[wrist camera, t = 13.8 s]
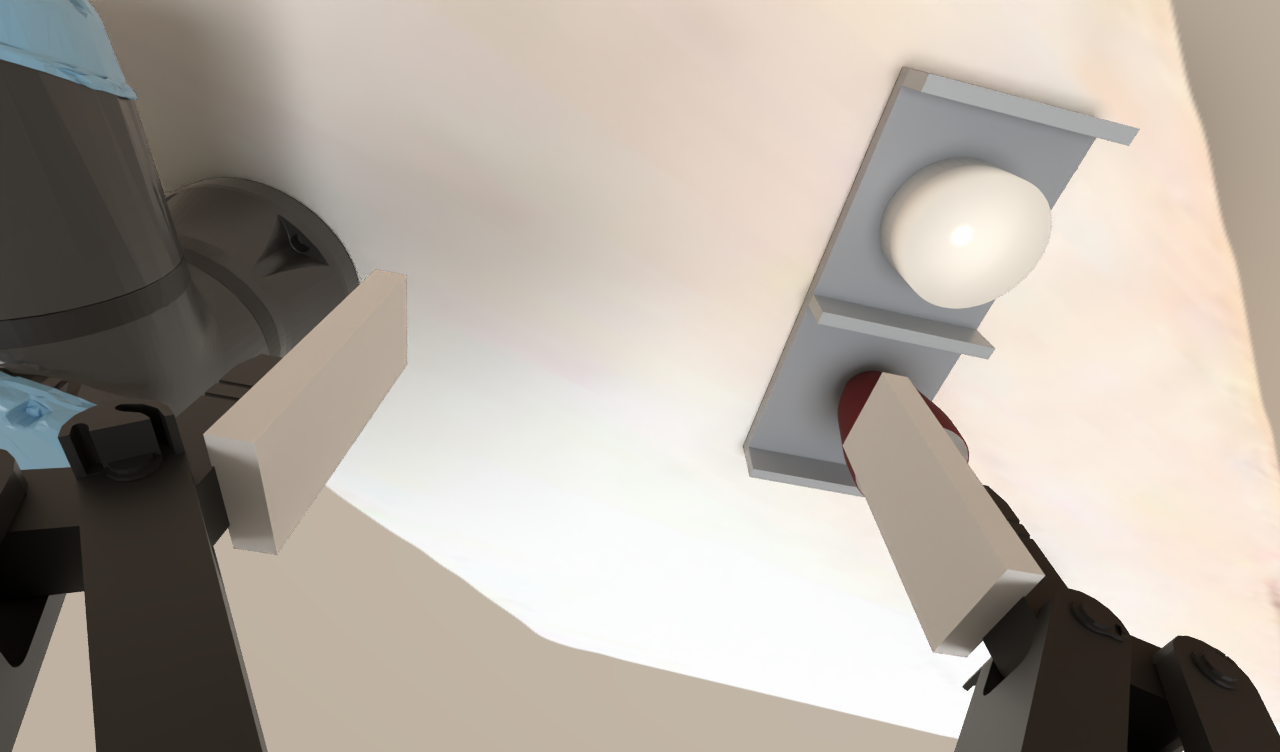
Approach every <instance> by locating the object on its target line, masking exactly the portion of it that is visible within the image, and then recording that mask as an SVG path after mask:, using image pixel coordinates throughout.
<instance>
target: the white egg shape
mask: <svg viewBox="0 0 1280 752" xmlns="http://www.w3.org/2000/svg"><path fill="white" fill-rule="evenodd" d="M1051 227H1052V216H1051V210H1050V207H1049V204H1048V201H1047V200H1046V198H1045V196H1044V195H1043V193H1042V192H1041V191H1040V190H1039V189H1038V188H1037V187H1036V186H1034V185H1033V184H1032V183H1030V182H1028V181H1026V180H1024V179H1022V178H1020V177H1018V176H1015V175H1013V174H1011V173H1009V172H1007V171H1005V170H1003V169H1000V168H998V167H996V166H994V165H992V164H990V163H987V162H985V161H983V160H980V159H976V158H971V157H955V158H949V159H945V160H941V161H938V162H935V163H933V164H931V165H929V166H927V167H925V168H923V169H921V170H920V171H918V172H917V173H915V174H914V175H913V176H911V177H910V178H909V179H908V180H907V181H906V182H905V183H904V184H903V185H902V186H901V187H900V188H899V189H898V190H897V191H896V193H895V194H894V196H893V197H892V198H891V200H890V202H889V204H888V205H887V207H886V209H885V212H884V215H883V217H882V221H881V226H880V244H881V248H882V251H883V254H884V256H885V258H886V260H887V261H888V262H889V264H890V265H891V266H892V267H893V268H894V269H895V270H896V271H897V273H898V274H899V275H900V276H901V277H902V278H903V279H904V280H905V281H906V282H907V283H908V284H909V286H910V287H911V288H912V289H913V290H914V291H915V292H916V293H917V294H918V295H919V296H920V297H921V298H923V299H924V300H926V301H927V302H929V303H931V304H933V305H936V306H940V307H944V308H954V309H960V308H969V307H974V306H978V305H982V304H985V303H987V302H990V301H992V300H995V299H996V298H998V297H1000V296H1002V295H1004V294H1005V293H1007V292H1009V291H1010V290H1012V289H1013V288H1014V287H1015V286H1017V285H1018V284H1019V283H1020V282H1021V281H1022V280H1024V279H1025V278H1026V277H1027V276H1028V274H1029V273H1030V272H1031V271H1032V270H1033V269H1034V267H1035V266H1036V265H1037V263H1038V262H1039V260H1040V259H1041V257H1042V255H1043V253H1044V251H1045V249H1046V247H1047V244H1048V241H1049V238H1050V234H1051Z"/></svg>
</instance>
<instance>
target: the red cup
mask: <svg viewBox="0 0 1280 752" xmlns="http://www.w3.org/2000/svg"><path fill="white" fill-rule="evenodd" d="M881 374H882V372H879V371H865V372H862V373H859V374H857V375H855V376H854V377H853V378H851V379H850V380H849V381H848V383H847V384H846V386H845V388H844V390H843V392H842V395H841V398H840V401H839V404H838V412H837V415H838V423H839V430H840V436H841V442H842V448H843V444H844V442H845V440H846V438H847V436H848V435H849V433H850V431H851V429H852V427H853V425H854V424H855V422H856V420H857V418H858V416H859V415H860V413H861V411H862V409H863V407H864V405H865V404H866V402H867V400H868V398H869V396H870V394H871V393H872V391H873V389H874V387H875V385H876V383H877V382H878V380H879V378H880V376H881ZM916 390H917V389H916ZM917 391H918V393H919V394H920V395H921V397H922V398H923V400H924V401H925V403H926V404H927V406H928V407H929V408H930V410H931V411H932V413H933V414H934V416H935V417H936V418H937V420H938V421H939V423H940V424H941V426H942V427H943V429H944V430H945V431H946V433H947V434H948V436H949V437H950V439H951V440H952V442H953V443H954V444H955V446H956V447H957V449H958V450H959V452H960V453H961V455H962V456H963V457H964V459H965V460H966V462H967V463H968V461H969V451H968V447H967V444H966V442H965V440H964V439H963V437H962V436H961V434H960V433H959V431H958V430H957V428H956V427H955V426H954V424H953V423H952V421H951V420H950V419H949V418H948V417H947V415H946V414H945V413H944V412H943V411H942V410H941V409H940V408H938V407H937V406H936V405H935V404H934V403H933V402H931V401H930V400H929V399H928V398H927V397H926V396H924V395H923V394H922V393H921V392H920V391H919V390H917ZM843 454H844V458H845V461H846V464H847V467H848V469H849V472H850V474H851V476H852V478H853V480H854V482H855V484H856V487H857V488H858V490H859V491H860V492H861V494H862V495H863V496H864V493H863V491H862V489H861V487H860V484H859V482H858V480H857V477H856V475H855V473H854V471H853V468H852V466H851V464H850V461H849V459H848V457H847V454H846V452H845V450H844V448H843Z"/></svg>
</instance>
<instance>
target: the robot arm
mask: <svg viewBox="0 0 1280 752" xmlns="http://www.w3.org/2000/svg"><path fill="white" fill-rule="evenodd" d="M134 100H138V99H137V95H136V93H135V91H134V89H133V88H131V87H130V86H129V85H127V82H126V80H125V78H124V75H123V73H122V70H121V68H120V65H119V63H118V60H117V58H116V55H115V53H114V50H113V47H112V45H111V42H110V40H109V37H108V35H107V32H106V29H105V27H104V24H103V22H102V20H101V18H100V16H99V14H98V13H97V11H96V10H95V8H94V7H93V6H92V5H91V3H90V2H89V1H88V0H0V752H12V749H13V746H14V743H15V740H16V737H17V734H18V731H19V729H20V726H21V723H22V720H23V717H24V714H25V711H26V708H27V705H28V703H29V700H30V697H31V694H32V691H33V688H34V685H35V682H36V680H37V677H38V673H39V671H40V668H41V665H42V662H43V659H44V656H45V654H46V651H47V648H48V645H49V642H50V639H51V636H52V633H53V630H54V628H55V625H56V622H57V619H58V616H59V613H60V610H61V607H62V604H63V602H64V598H65V595H66V593H72V592H81V591H84V592H85V606H86V619H87V632H88V646H89V659H90V673H91V686H92V699H93V713H94V726H95V740H96V752H268V751H267V748H266V744H265V740H264V736H263V732H262V729H261V725H260V721H259V718H258V714H257V710H256V706H255V702H254V698H253V694H252V691H251V687H250V683H249V679H248V676H247V671H246V668H245V664H244V660H243V656H242V653H241V649H240V645H239V641H238V637H237V634H236V630H235V626H234V622H233V618H232V614H231V611H230V607H229V603H228V599H227V595H226V592H225V588H224V584H223V580H222V577H221V573H220V569H219V565H218V561H217V558H216V554H215V550H214V547H213V546H214V544H215V543H216V542H217V540H218V539H219V538H220V537H221V535H222V534H223V533H224V532H225V531H226V529H227V528H228V529H229V533H230V537H231V540H232V544H233V548H234V549H241V550H248V551H254V552H262V553H269V554H275V555H277V554H278V553H279V552H280V550H281V549H282V547H283V546H284V544H285V543H286V541H287V540H288V539H289V537H290V536H291V534H292V533H293V531H294V530H295V528H296V527H297V525H298V524H299V522H300V521H301V519H302V518H303V516H304V515H305V513H306V512H307V511H308V509H309V508H310V506H311V505H312V503H313V502H314V500H315V499H316V497H317V496H318V494H319V493H320V491H321V490H322V488H323V487H324V486H325V484H326V483H327V481H328V480H329V478H330V477H331V475H332V474H333V472H334V471H335V470H336V468H337V467H338V465H339V464H340V462H341V461H342V459H343V458H344V456H345V455H346V453H347V452H348V450H349V449H350V447H351V446H352V445H353V443H354V442H355V440H356V439H357V437H358V436H359V434H360V433H361V431H362V430H363V428H364V427H365V425H366V424H367V423H368V421H369V420H370V418H371V417H372V415H373V414H374V412H375V411H376V409H377V408H378V406H379V405H380V403H381V402H382V401H383V399H384V398H385V396H386V395H387V393H388V392H389V390H390V389H391V387H392V386H393V384H394V383H395V381H396V380H397V378H398V377H399V376H400V374H401V373H402V371H403V370H404V368H405V367H406V365H407V276H406V275H402V274H397V273H392V272H387V271H382V270H377V269H376V270H375V271H373V272H372V273H371V274H370V275H369V276H368V277H367V278H366V279H365V280H364V281H363V282H362V283H361V284H360V285H359V284H358V279H357V275H356V272H355V269H354V267H353V264H352V262H351V260H350V258H349V256H348V254H347V252H346V251H345V249H344V247H343V246H342V244H341V243H340V241H339V240H338V239H337V237H336V236H335V235H334V233H333V232H332V231H331V230H330V229H329V228H328V227H327V226H326V225H325V223H324V222H323V221H321V220H320V219H319V218H318V217H317V216H316V215H315V214H314V213H313V212H311V211H310V210H309V209H308V208H306V207H305V206H304V205H302V204H301V203H299V202H298V201H296V200H295V199H293V198H291V197H289V196H288V195H286V194H284V193H282V192H280V191H278V190H276V189H273V188H271V187H269V186H266V185H263V184H260V183H257V182H253V181H249V180H244V179H237V178H212V179H206V180H202V181H199V182H196V183H193V184H191V185H188V186H185V187H183V188H180V189H178V190H176V191H173V192H171V193H170V194H168V195H166V196H165V195H164V192H163V189H162V186H161V183H160V180H159V177H158V174H157V170H156V167H155V164H154V161H153V158H152V155H151V152H150V149H149V146H148V142H147V139H146V136H145V133H144V130H143V127H142V124H141V121H140V118H139V114H138V111H137V108H136V105H135V102H134ZM843 448H844V450H845V452H846V454H847V457H848V459H849V461H850V464H851V466H852V468H853V471H854V473H855V475H856V477H857V480H858V482H859V484H860V487H861V489H862V491H863V493H864V496H865V498H866V500H867V503H868V505H869V507H870V509H871V512H872V514H873V516H874V519H875V521H876V523H877V525H878V528H879V530H880V532H881V535H882V537H883V539H884V542H885V544H886V546H887V548H888V551H889V553H890V555H891V558H892V560H893V562H894V564H895V567H896V569H897V571H898V574H899V576H900V578H901V580H902V583H903V585H904V587H905V590H906V592H907V594H908V596H909V599H910V601H911V603H912V606H913V608H914V610H915V613H916V615H917V617H918V619H919V622H920V624H921V626H922V629H923V631H924V633H925V635H926V638H927V640H928V642H929V645H930V647H931V649H932V651H933V652H934V653H940V654H947V655H954V656H960V657H967V656H968V655H969V654H970V653H971V652H972V651H973V650H974V649H975V648H976V647H977V646H978V645H979V644H980V643H981V642H982V641H984V643H985V645H986V647H987V649H988V651H989V653H990V655H991V658H990V659H989V660H988V661H987V662H986V663H985V664H984V665H983V666H982V667H981V668H980V669H979V670H978V671H977V672H976V673H975V674H974V675H973V676H972V677H971V678H970V679H969V680H968V681H967V682H966V683H965V684H964V685H963V688H964V689H966V690H967V691H968V690H969V689H970V688H971V687H972V686H974V685H976V687H975V690H974V693H973V696H972V699H971V702H970V705H969V708H968V711H967V714H966V718H965V721H964V724H963V727H962V730H961V733H960V736H959V739H958V742H957V745H956V748H955V751H954V752H1182V751H1184V752H1280V735H1279V733H1278V731H1277V729H1276V727H1275V725H1274V723H1273V721H1272V719H1271V717H1270V715H1269V713H1268V711H1267V709H1266V707H1265V705H1264V703H1263V701H1262V699H1261V697H1260V695H1259V693H1258V691H1257V689H1256V688H1255V686H1254V685H1253V683H1252V682H1251V680H1250V679H1249V677H1248V676H1247V675H1246V674H1245V673H1244V672H1243V671H1242V670H1241V669H1240V668H1239V667H1238V666H1237V664H1236V663H1235V662H1234V661H1233V660H1231V659H1230V658H1229V657H1228V656H1227V657H1226V656H1225V654H1224V653H1222V652H1221V651H1219V650H1218V649H1216V648H1213V647H1212V646H1210V645H1208V644H1206V643H1205V642H1203V641H1201V640H1198V639H1195V638H1192V637H1190V636H1177V637H1176V638H1174V639H1173V640H1172V641H1170V642H1169V643H1168V644H1167V645H1165V646H1164V647H1163V648H1160V647H1157V646H1155V645H1153V644H1150V643H1148V642H1145V641H1143V640H1141V639H1138V638H1136V637H1133V636H1131V635H1129V632H1128V631H1127V629H1126V628H1125V626H1124V625H1123V623H1122V622H1121V621H1120V620H1119V619H1118V618H1117V617H1116V616H1115V615H1114V614H1113V613H1112V612H1111V611H1110V610H1109V609H1108V608H1107V607H1106V606H1104V605H1103V604H1101V603H1100V602H1099V601H1097V600H1096V599H1094V598H1092V597H1090V596H1088V595H1086V594H1084V593H1082V592H1080V591H1076V590H1073V589H1069V588H1067V586H1066V585H1065V583H1064V582H1063V581H1062V579H1061V578H1060V576H1059V575H1058V574H1057V572H1056V571H1055V569H1054V568H1053V567H1052V565H1051V564H1050V562H1049V561H1048V560H1047V558H1046V557H1045V555H1044V554H1043V553H1042V551H1041V550H1040V548H1039V547H1038V546H1037V544H1036V543H1035V541H1034V540H1033V539H1030V535H1029V533H1028V532H1027V530H1026V529H1025V528H1024V526H1023V525H1022V524H1019V522H1020V521H1019V519H1018V518H1017V516H1016V515H1015V514H1014V512H1013V511H1012V509H1011V508H1010V507H1009V505H1008V504H1007V503H1006V502H1005V501H1004V500H1003V499H1002V498H1001V497H1000V496H999V495H997V494H996V493H995V492H994V491H993V490H992V489H991V488H990V487H989V486H985V485H982V483H981V482H980V481H979V479H978V478H977V476H976V475H975V473H974V472H973V470H972V469H971V468H970V466H969V465H968V463H967V462H966V460H965V459H964V457H963V456H962V455H961V453H960V452H959V450H958V449H957V447H956V446H955V444H954V443H953V442H952V440H951V439H950V437H949V436H948V434H947V433H946V431H945V430H944V429H943V427H942V426H941V424H940V423H939V421H938V420H937V418H936V417H935V416H934V414H933V413H932V411H931V410H930V408H929V407H928V406H927V404H926V403H925V401H924V400H923V398H922V397H921V395H920V394H919V393H918V391H917V390H916V388H915V387H914V385H913V384H912V382H911V381H910V380H909V378H908V377H904V376H899V375H894V374H890V373H885V372H882V374H881V376H880V378H879V380H878V382H877V383H876V385H875V387H874V389H873V391H872V393H871V394H870V396H869V398H868V400H867V402H866V404H865V405H864V407H863V409H862V411H861V413H860V415H859V416H858V418H857V420H856V422H855V424H854V425H853V427H852V429H851V431H850V433H849V435H848V436H847V438H846V440H845V442H844V444H843Z"/></svg>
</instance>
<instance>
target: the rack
mask: <svg viewBox="0 0 1280 752" xmlns="http://www.w3.org/2000/svg"><path fill="white" fill-rule="evenodd" d="M1139 130H1140V129H1138V128H1134V127H1130V126H1127V125H1123V124H1119V123H1115V122H1111V121H1108V120H1104V119H1100V118H1096V117H1093V116H1089V115H1085V114H1081V113H1078V112H1074V111H1070V110H1066V109H1062V108H1059V107H1055V106H1051V105H1047V104H1044V103H1040V102H1036V101H1032V100H1028V99H1025V98H1021V97H1017V96H1013V95H1010V94H1006V93H1002V92H998V91H995V90H991V89H987V88H983V87H979V86H976V85H972V84H968V83H964V82H961V81H957V80H953V79H949V78H946V77H942V76H938V75H934V74H930V73H926V72H922V71H918V70H914V69H910V68H906V67H902V69H901V72H900V74H899V76H898V79H897V81H896V84H895V86H894V88H893V91H892V93H891V96H890V98H889V100H888V103H887V105H886V107H885V110H884V112H883V115H882V117H881V119H880V122H879V124H878V126H877V129H876V131H875V134H874V136H873V138H872V141H871V143H870V146H869V148H868V150H867V153H866V155H865V157H864V160H863V162H862V165H861V167H860V169H859V172H858V174H857V177H856V179H855V181H854V184H853V186H852V188H851V191H850V193H849V196H848V198H847V200H846V203H845V205H844V208H843V210H842V212H841V215H840V217H839V219H838V222H837V224H836V227H835V229H834V231H833V234H832V236H831V239H830V241H829V243H828V246H827V248H826V250H825V253H824V255H823V258H822V260H821V262H820V265H819V267H818V269H817V272H816V274H815V277H814V279H813V281H812V284H811V286H810V289H809V291H808V293H807V296H806V298H805V300H804V303H803V305H802V308H801V310H800V312H799V315H798V317H797V320H796V322H795V324H794V327H793V329H792V331H791V334H790V336H789V339H788V341H787V343H786V346H785V348H784V351H783V353H782V355H781V358H780V360H779V362H778V365H777V367H776V370H775V372H774V374H773V377H772V379H771V381H770V384H769V386H768V389H767V391H766V393H765V396H764V398H763V401H762V403H761V405H760V408H759V410H758V412H757V415H756V417H755V420H754V422H753V424H752V427H751V429H750V432H749V434H748V436H747V439H746V441H745V443H744V446H743V448H744V453H745V457H746V462H747V467H748V472H749V476H750V477H753V478H759V479H764V480H770V481H776V482H781V483H787V484H793V485H798V486H804V487H810V488H815V489H821V490H826V491H832V492H838V493H843V494H849V495H855V496H860V497H865V496H863V495H862V494H861V492H860V491H859V490H858V488H857V487H856V484H855V482H854V480H853V478H852V476H851V474H850V472H849V469H848V467H847V464H846V461H845V458H844V454H843V448H842V442H841V436H840V430H839V423H838V415H837V412H838V404H839V401H840V398H841V395H842V392H843V390H844V388H845V386H846V384H847V383H848V381H849V380H850V379H851V378H853V377H854V376H855V375H857V374H859V373H862V372H865V371H879V372H885V373H890V374H894V375H899V376H904V377H908V378H909V380H910V381H911V382H912V384H913V385H914V387H915V388H916V389H917V390H919V391H920V392H921V393H922V394H923V395H924V396H926V397H927V398H928V399H929V400H930V401H931V402H932V400H933V398H934V397H935V395H936V394H937V392H938V390H939V389H940V387H941V386H942V384H943V382H944V381H945V379H946V377H947V376H948V374H949V373H950V371H951V369H952V368H953V366H954V365H955V363H956V361H957V360H958V358H959V357H960V355H961V354H965V355H970V356H975V357H979V358H984V359H989V357H990V356H991V354H992V353H993V351H994V350H995V348H994V347H993V346H992V345H991V344H990V343H989V342H988V341H987V340H986V339H985V338H984V337H983V336H982V335H981V334H980V333H979V332H978V331H977V330H976V329H977V328H978V326H979V325H980V323H981V321H982V320H983V318H984V317H985V315H986V313H987V312H988V310H989V309H990V307H991V305H992V304H993V302H994V301H995V300H992V301H990V302H987V303H985V304H982V305H978V306H974V307H969V308H960V309H954V308H944V307H940V306H936V305H933V304H931V303H929V302H927V301H926V300H924V299H923V298H921V297H920V296H919V295H918V294H917V293H916V292H915V291H914V290H913V289H912V288H911V287H910V286H909V284H908V283H907V282H906V281H905V280H904V279H903V278H902V277H901V276H900V275H899V274H898V273H897V271H896V270H895V269H894V268H893V267H892V266H891V265H890V264H889V262H888V261H887V260H886V258H885V256H884V254H883V251H882V248H881V244H880V226H881V221H882V217H883V215H884V212H885V209H886V207H887V205H888V204H889V202H890V200H891V198H892V197H893V196H894V194H895V193H896V191H897V190H898V189H899V188H900V187H901V186H902V185H903V184H904V183H905V182H906V181H907V180H908V179H909V178H910V177H911V176H913V175H914V174H915V173H917V172H918V171H920V170H921V169H923V168H925V167H927V166H929V165H931V164H933V163H935V162H938V161H941V160H945V159H949V158H955V157H971V158H976V159H980V160H983V161H985V162H987V163H990V164H992V165H994V166H996V167H998V168H1000V169H1003V170H1005V171H1007V172H1009V173H1011V174H1013V175H1015V176H1018V177H1020V178H1022V179H1024V180H1026V181H1028V182H1030V183H1032V184H1033V185H1034V186H1036V187H1037V188H1038V189H1039V190H1040V191H1041V192H1042V193H1043V195H1044V196H1045V198H1046V200H1047V201H1048V204H1049V207H1050V210H1051V209H1052V208H1053V206H1054V205H1055V203H1056V201H1057V200H1058V198H1059V197H1060V195H1061V193H1062V192H1063V190H1064V189H1065V187H1066V185H1067V184H1068V182H1069V181H1070V179H1071V177H1072V176H1073V174H1074V173H1075V171H1076V169H1077V168H1078V166H1079V165H1080V163H1081V161H1082V160H1083V158H1084V157H1085V155H1086V153H1087V152H1088V150H1089V149H1090V147H1091V145H1092V144H1093V142H1094V140H1095V139H1096V137H1097V138H1100V139H1104V140H1108V141H1112V142H1116V143H1120V144H1123V145H1127V146H1129V145H1130V143H1131V142H1132V140H1133V139H1134V137H1135V136H1136V134H1137V133H1138V131H1139Z"/></svg>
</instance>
